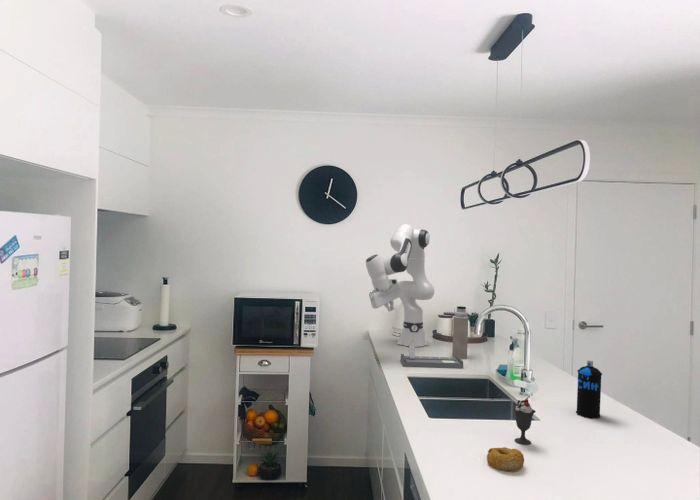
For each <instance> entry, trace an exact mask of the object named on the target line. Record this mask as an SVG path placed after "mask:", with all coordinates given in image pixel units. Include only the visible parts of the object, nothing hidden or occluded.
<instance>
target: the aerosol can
mask: <svg viewBox="0 0 700 500" xmlns="http://www.w3.org/2000/svg"><path fill="white" fill-rule="evenodd" d="M602 375H603V373H602V371H600V370H599V369H598V368H597V367H595V366H594V361H593V360H591V359H588V360H587V361H586V366H585V365H584V366H582V367H580V368H579V369H577V391H576V392H577V396H576V411H575V414H576V413H577V414H576V415H578V416H579V415H581V416H580V417H582V416H584V417H583V418H586V417H588V418H587V419H593V418H596V419H600V418H601V395H602V394H601V391H602Z"/></svg>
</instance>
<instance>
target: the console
mask: <svg viewBox="0 0 700 500" xmlns="http://www.w3.org/2000/svg"><path fill="white" fill-rule="evenodd" d="M400 362H401V365H402V367H403V368H404V367H405V368H430V369H431V368H434V369H435V368H437V369H462V368H463V369H464V361H463V359H460V358H459V357H458V356H455V357H452V356H423V355H422V356H421V355H419V356H416V355H415V359H410V358H409V355H405V354H404V353H400Z"/></svg>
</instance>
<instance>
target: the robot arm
mask: <svg viewBox="0 0 700 500" xmlns="http://www.w3.org/2000/svg"><path fill="white" fill-rule="evenodd" d="M430 239H431V238H430V233H429V232H428V230H426V229H418V228H413V226H412V225H410V224H409V223H403V224H401V225H399V226H398V228H397V229H396V230H395V231H394V233H393V234H392V236H391V238H390V242H389V243H390V246H391V248H392V249H393V250H394V251H396V252H397V253H395V254H391V255H389V256H385V257H383V256H382V257H381V256H379V254H373V255H371V256H369V257H368V258H366V259H365V266H366V270H367V273H368V276H369V277H370V280H371V284H372V286H373V288H374V289H372V290H371V291H370V292H369V294H368V297H369V301H370V303H371V308H372V309H374V310H376V309H379V308H381V307H383V306H384V307H385V308H386V309H387V311H388V312H392V311H394V310H395V307H394V303H395V300H396V299H398V298H399V299H400V300H401V303H402V306H403V312H404V313H403V314H404V317H403V318H404V320H403V323H402V326H403V328H402V329H401V330H400V332H399V334H398V335H399V338H398V340H397V343H396V344H397V345H401V346H405V347H409V346H410V340H415V348H417V347H418V348H419V347H426V346H429V344H428V343H427V342H426V331H425V330H424V322H423V315H424V314H423V311H424V310H423V308H422V307H421V306H419V304H418V303H417V301H418V300H419V301H428V300H431V299H432V298H433V297H434V295H435V287H434V285H433V284H432V283H430V281H429V279H428V278H427V275H426V269H425V262H426V261H425V257H426V256H425V248H427V246H428V245H429V244H430ZM405 271H406V273H407V274H408V275H410V276H411V278H412V280H401V281H398V279H396V278H395V279H394V278H393V279H392V278H391V279H389V276H392V275H393V274H398V273H403V272H405ZM416 300H417V301H416Z"/></svg>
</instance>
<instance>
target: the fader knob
mask: <svg viewBox="0 0 700 500" xmlns="http://www.w3.org/2000/svg"><path fill="white" fill-rule="evenodd" d="M408 347H409V349H408V351H409V352H408V353H409V354H408V356H409V358H410V359H415V356H416V347H415V340H410V346H408Z"/></svg>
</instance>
